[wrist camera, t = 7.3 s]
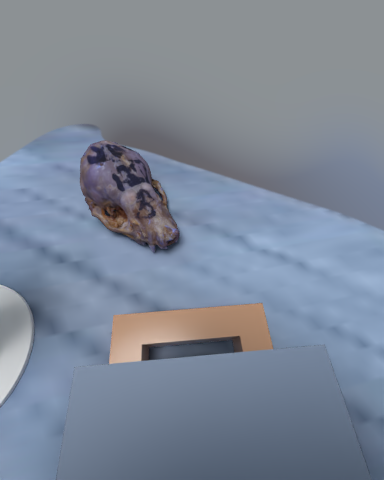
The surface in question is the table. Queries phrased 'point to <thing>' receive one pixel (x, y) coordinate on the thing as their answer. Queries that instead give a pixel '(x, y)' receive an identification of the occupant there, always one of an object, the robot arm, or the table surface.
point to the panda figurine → (13, 339)
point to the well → (188, 330)
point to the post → (211, 420)
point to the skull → (126, 195)
